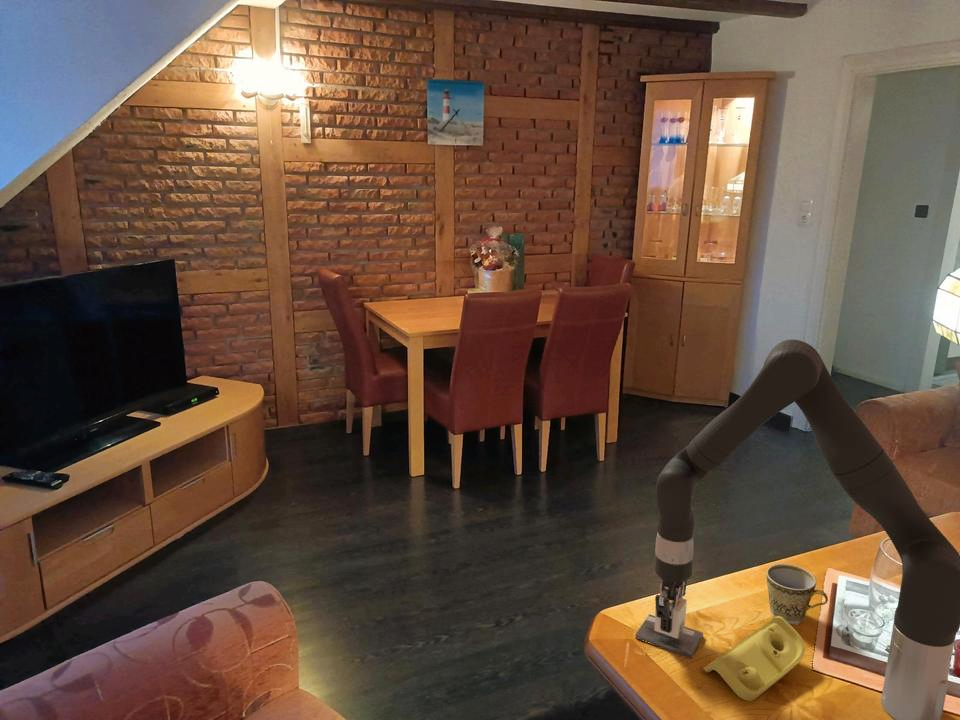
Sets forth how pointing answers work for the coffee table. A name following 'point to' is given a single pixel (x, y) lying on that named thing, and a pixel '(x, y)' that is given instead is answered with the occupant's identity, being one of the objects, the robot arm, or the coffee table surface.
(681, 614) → the block
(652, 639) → the panel
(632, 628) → the coffee table surface
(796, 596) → the ceramic cup
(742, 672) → the plastic component
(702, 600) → the coffee table surface
